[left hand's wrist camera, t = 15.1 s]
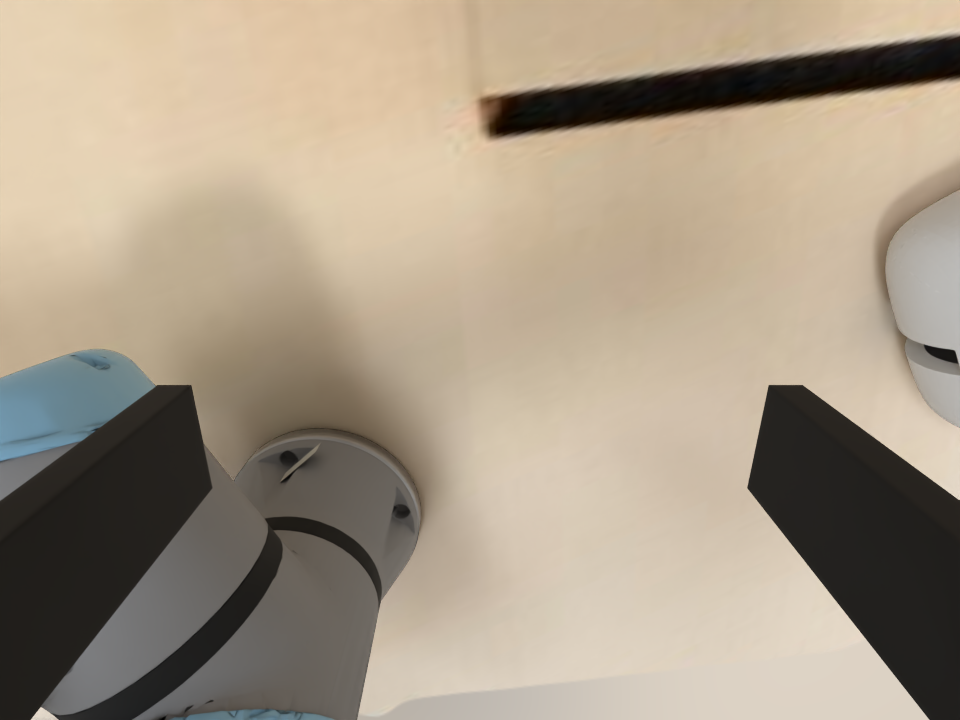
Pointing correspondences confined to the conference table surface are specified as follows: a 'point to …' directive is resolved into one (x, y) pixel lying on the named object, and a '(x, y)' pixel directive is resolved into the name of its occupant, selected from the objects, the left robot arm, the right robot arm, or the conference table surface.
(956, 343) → the projector
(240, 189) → the conference table surface
